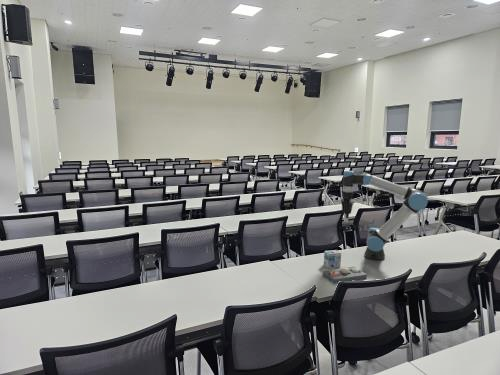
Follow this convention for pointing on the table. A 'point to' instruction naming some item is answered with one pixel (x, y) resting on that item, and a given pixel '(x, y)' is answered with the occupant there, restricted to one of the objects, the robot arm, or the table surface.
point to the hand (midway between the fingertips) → (346, 221)
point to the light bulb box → (332, 258)
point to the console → (344, 275)
